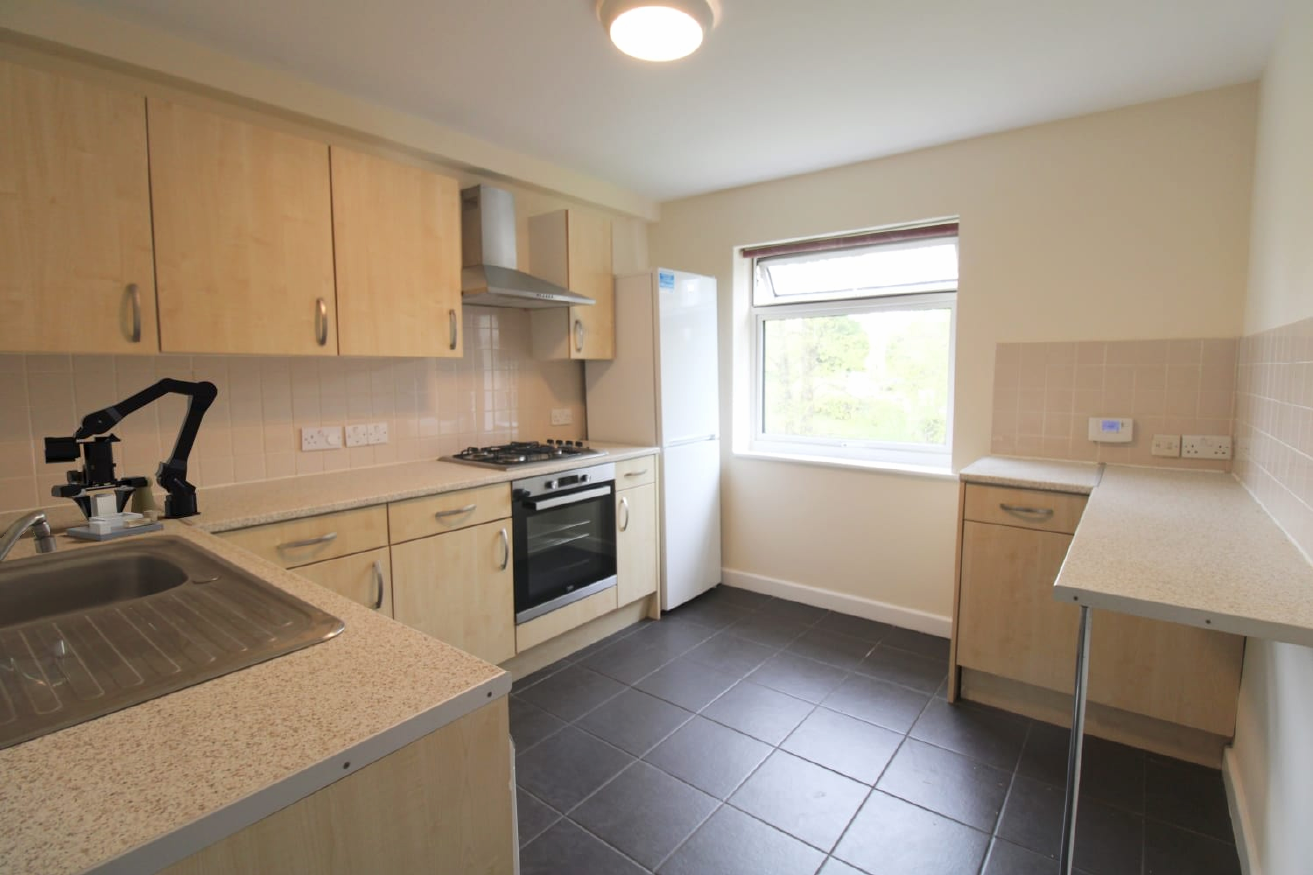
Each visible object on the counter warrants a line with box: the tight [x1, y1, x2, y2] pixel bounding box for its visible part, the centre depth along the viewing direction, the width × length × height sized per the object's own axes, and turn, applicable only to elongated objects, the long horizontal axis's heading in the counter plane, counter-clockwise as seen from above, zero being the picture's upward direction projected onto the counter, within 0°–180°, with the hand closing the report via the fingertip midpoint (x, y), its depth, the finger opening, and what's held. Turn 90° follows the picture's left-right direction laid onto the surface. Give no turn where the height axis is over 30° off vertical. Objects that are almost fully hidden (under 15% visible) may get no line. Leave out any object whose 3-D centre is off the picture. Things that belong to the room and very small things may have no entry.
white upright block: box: [90, 492, 117, 517], centre depth 167 cm, size 4×4×9 cm
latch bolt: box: [123, 510, 159, 527], centre depth 159 cm, size 6×3×3 cm, turn 154°
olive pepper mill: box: [130, 476, 158, 515], centre depth 182 cm, size 6×6×11 cm
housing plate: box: [65, 511, 165, 542], centre depth 159 cm, size 13×17×4 cm
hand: (104, 518), depth 167 cm, fingers open, 6 cm apart
